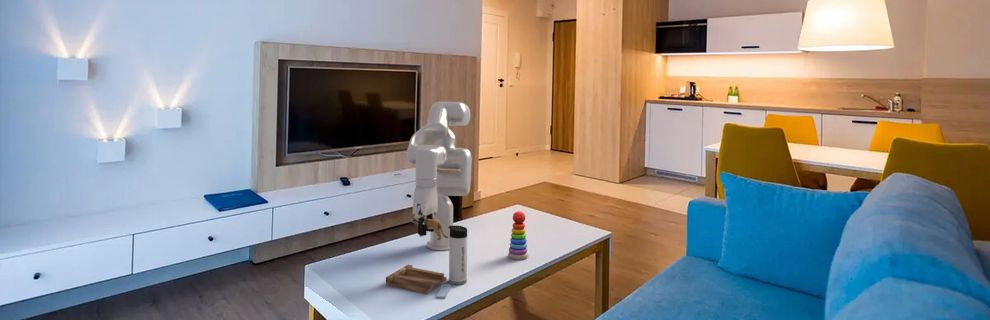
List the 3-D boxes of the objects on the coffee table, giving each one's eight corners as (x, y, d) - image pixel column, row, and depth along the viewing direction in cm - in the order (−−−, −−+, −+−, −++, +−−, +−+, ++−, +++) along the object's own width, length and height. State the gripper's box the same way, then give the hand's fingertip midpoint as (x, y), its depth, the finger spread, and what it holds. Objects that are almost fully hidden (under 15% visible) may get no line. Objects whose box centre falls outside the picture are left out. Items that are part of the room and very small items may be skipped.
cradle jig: (408, 272, 195) (408, 264, 195) (446, 279, 189) (446, 271, 188) (385, 285, 183) (385, 277, 182) (426, 294, 176) (426, 285, 176)
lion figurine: (408, 236, 190) (407, 211, 189) (415, 232, 195) (415, 208, 193) (444, 241, 184) (444, 216, 183) (451, 237, 189) (451, 212, 188)
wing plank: (442, 287, 183) (442, 284, 183) (451, 288, 183) (451, 284, 183) (436, 299, 173) (436, 296, 173) (445, 300, 173) (445, 296, 173)
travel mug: (449, 277, 191) (449, 223, 188) (467, 278, 191) (468, 224, 187) (447, 284, 185) (447, 228, 181) (466, 285, 184) (466, 229, 181)
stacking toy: (531, 258, 213) (533, 212, 210) (515, 261, 209) (517, 215, 206) (520, 252, 220) (521, 208, 217) (504, 255, 215) (505, 210, 212)
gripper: (429, 178, 197) (428, 226, 199) (404, 185, 181) (404, 237, 184) (447, 180, 194) (446, 229, 196) (423, 187, 178) (422, 240, 181)
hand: (426, 232), depth 190 cm, fingers closed on lion figurine, 4 cm apart
